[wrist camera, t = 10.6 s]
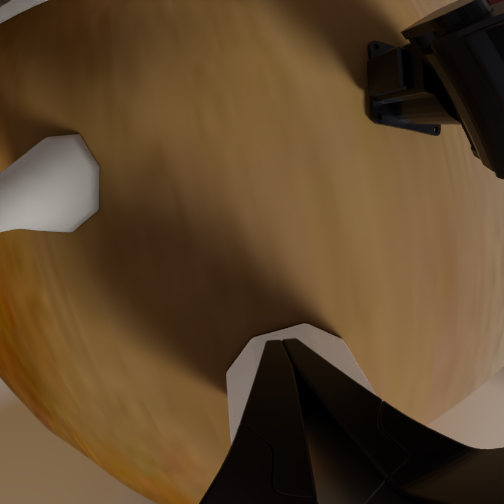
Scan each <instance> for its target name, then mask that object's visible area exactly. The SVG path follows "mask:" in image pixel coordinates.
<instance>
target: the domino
mask: <svg viewBox="0 0 504 504" xmlns="http://www.w3.org/2000/svg"><path fill="white" fill-rule="evenodd" d="M9 1H11V0H0V7H1V6H3V5H4V4H6V3H8V2H9Z"/></svg>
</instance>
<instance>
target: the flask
mask: <svg viewBox="0 0 504 504" xmlns="http://www.w3.org/2000/svg"><path fill="white" fill-rule="evenodd" d="M99 170H100V167H99V165H98V164H97V162H96V161H95V159H94V157H93V156H92V154H91V152H90V151H89V149H88V147H87V146H86V144H85V142H84V141H83V139H82V137H81V135H80V134H76V135H63V136H52V137H46V138H45V139H43V140H42V141H41V142H39V143H38V144H37V145H35V146H34V147H33V148H32V149H30V150H29V151H28V152H27V153H26V154H24V155H23V156H22V157H20V158H19V159H18V160H16V161H15V162H14V163H13V164H11V165H10V166H9V167H7V168H6V169H5V170H4V171H3V172H1V173H0V232H3V231H7V230H13V229H29V230H37V231H55V232H73V231H74V230H76V229H77V228H78V227H79V226H80V225H81V224H82V223H84V222H85V221H86V220H87V219H88V218H89V217H91V216H92V215H93V214H94V213H95V212H97V211H98V210H99Z"/></svg>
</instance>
